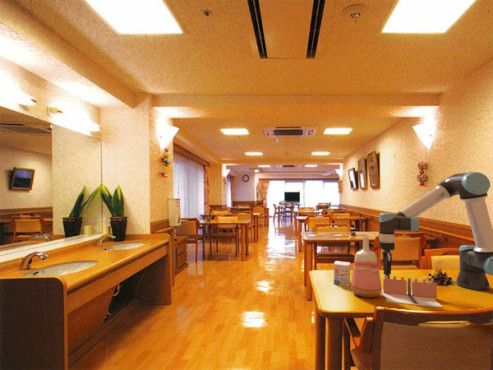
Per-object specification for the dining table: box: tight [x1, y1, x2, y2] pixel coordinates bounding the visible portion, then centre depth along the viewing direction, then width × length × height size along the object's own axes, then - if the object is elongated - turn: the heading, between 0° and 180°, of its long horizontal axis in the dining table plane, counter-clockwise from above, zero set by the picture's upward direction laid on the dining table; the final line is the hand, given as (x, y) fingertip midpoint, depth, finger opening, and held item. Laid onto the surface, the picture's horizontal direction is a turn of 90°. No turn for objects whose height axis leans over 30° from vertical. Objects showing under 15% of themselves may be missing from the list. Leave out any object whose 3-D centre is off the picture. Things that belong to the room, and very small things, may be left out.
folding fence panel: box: [382, 275, 408, 295], centre depth 148 cm, size 11×1×9 cm, turn 74°
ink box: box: [333, 260, 351, 286], centre depth 167 cm, size 9×8×12 cm
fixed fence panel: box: [407, 277, 438, 299], centre depth 145 cm, size 13×1×9 cm, turn 74°
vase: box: [350, 235, 383, 299], centre depth 148 cm, size 14×14×30 cm
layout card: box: [381, 288, 443, 308], centre depth 143 cm, size 23×18×1 cm
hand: (387, 285), depth 154 cm, fingers closed
